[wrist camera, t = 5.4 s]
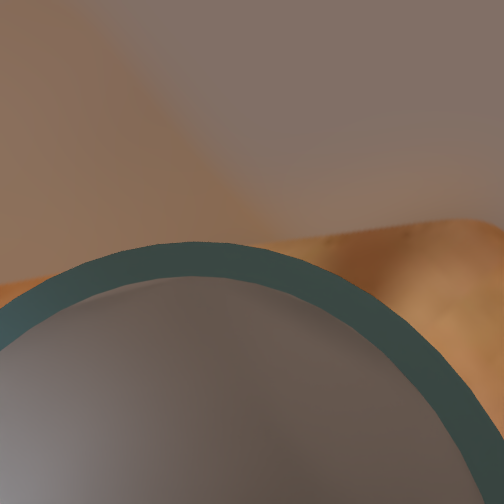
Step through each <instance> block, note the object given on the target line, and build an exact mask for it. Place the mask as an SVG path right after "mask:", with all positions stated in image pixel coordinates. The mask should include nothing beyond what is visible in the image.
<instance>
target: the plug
mask: <svg viewBox="0 0 504 504" xmlns="http://www.w3.org/2000/svg"><path fill="white" fill-rule="evenodd" d="M0 504H504V440H503V438H502V436H501V434H500V432H499V431H498V429H497V428H496V426H495V425H494V423H493V422H492V420H491V419H490V417H489V416H488V414H487V413H486V411H485V410H484V409H483V407H482V406H481V404H480V403H479V401H478V400H477V398H476V397H475V395H474V394H473V392H472V391H471V389H470V388H469V387H468V386H467V385H466V383H465V382H464V381H463V380H462V379H461V377H460V376H459V375H458V374H457V373H456V372H455V370H454V369H453V368H452V367H451V366H450V364H449V363H448V362H447V361H446V360H445V359H444V357H443V356H442V355H441V354H440V353H439V352H438V351H437V350H436V349H435V348H434V347H433V346H432V345H431V344H430V343H429V342H428V341H427V340H426V339H425V338H424V337H423V336H421V335H420V334H419V333H418V332H417V331H416V330H415V329H414V328H413V327H412V326H411V325H410V324H409V323H408V322H407V321H405V320H404V319H403V318H401V317H400V316H399V315H397V314H396V313H395V312H393V311H392V310H391V309H389V308H388V307H387V306H385V305H384V304H383V303H381V302H380V301H379V300H377V299H376V298H375V297H373V296H372V295H370V294H369V293H367V292H365V291H363V290H362V289H360V288H358V287H357V286H355V285H353V284H351V283H350V282H348V281H346V280H345V279H343V278H341V277H339V276H338V275H335V274H333V273H331V272H329V271H326V270H324V269H322V268H319V267H317V266H315V265H312V264H310V263H308V262H305V261H303V260H300V259H297V258H293V257H290V256H287V255H283V254H280V253H277V252H273V251H270V250H266V249H261V248H255V247H249V246H243V245H236V244H230V243H211V242H182V243H170V244H157V245H152V246H146V247H141V248H137V249H131V250H126V251H121V252H118V253H114V254H111V255H108V256H105V257H102V258H99V259H96V260H93V261H89V262H86V263H84V264H81V265H79V266H77V267H74V268H73V269H70V270H68V271H65V272H63V273H61V274H59V275H56V276H54V277H52V278H50V279H48V280H46V281H44V282H43V283H41V284H39V285H37V286H36V287H34V288H32V289H31V290H29V291H27V292H25V293H24V294H22V295H20V296H18V297H17V298H15V299H13V300H12V301H11V302H9V303H8V304H7V305H5V306H4V307H2V308H1V309H0Z"/></svg>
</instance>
